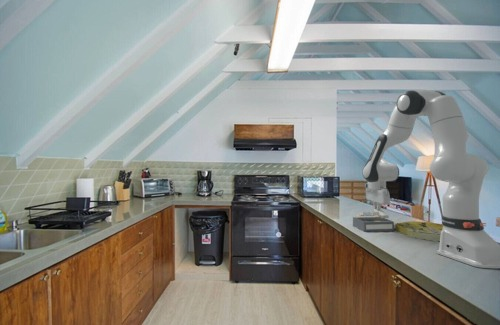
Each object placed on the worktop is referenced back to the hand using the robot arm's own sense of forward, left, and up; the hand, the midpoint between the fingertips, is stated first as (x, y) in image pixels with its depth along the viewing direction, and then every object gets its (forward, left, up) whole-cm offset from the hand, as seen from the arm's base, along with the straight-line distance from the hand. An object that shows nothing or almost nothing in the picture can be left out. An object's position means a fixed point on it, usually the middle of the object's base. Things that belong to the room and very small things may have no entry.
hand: (377, 210), depth 149 cm
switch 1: (-4, +10, -1) cm, 11 cm away
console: (-4, +5, -9) cm, 11 cm away
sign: (-17, -18, -10) cm, 26 cm away
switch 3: (-4, 0, -1) cm, 4 cm away
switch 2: (-4, +5, -1) cm, 6 cm away
